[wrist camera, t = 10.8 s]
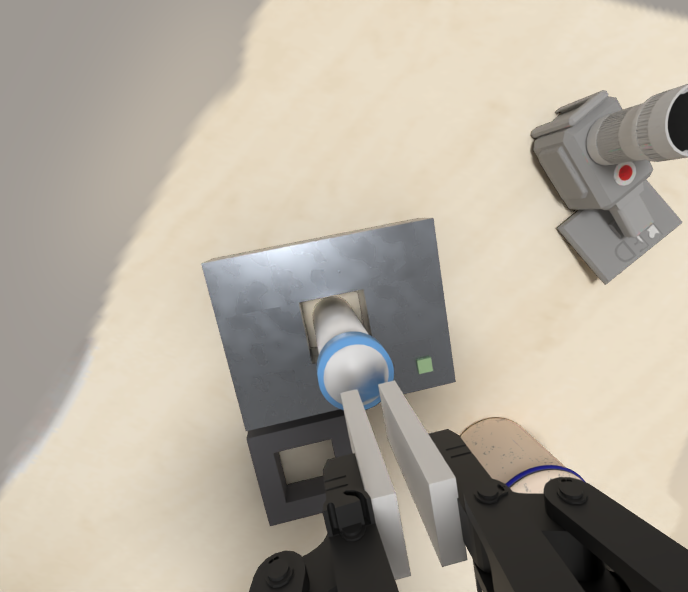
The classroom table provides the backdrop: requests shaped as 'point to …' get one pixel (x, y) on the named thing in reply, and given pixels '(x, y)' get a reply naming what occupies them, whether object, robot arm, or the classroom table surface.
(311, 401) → the port panel
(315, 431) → the frame
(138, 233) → the classroom table surface
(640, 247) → the camera
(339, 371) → the plug
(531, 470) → the teacup with lid
